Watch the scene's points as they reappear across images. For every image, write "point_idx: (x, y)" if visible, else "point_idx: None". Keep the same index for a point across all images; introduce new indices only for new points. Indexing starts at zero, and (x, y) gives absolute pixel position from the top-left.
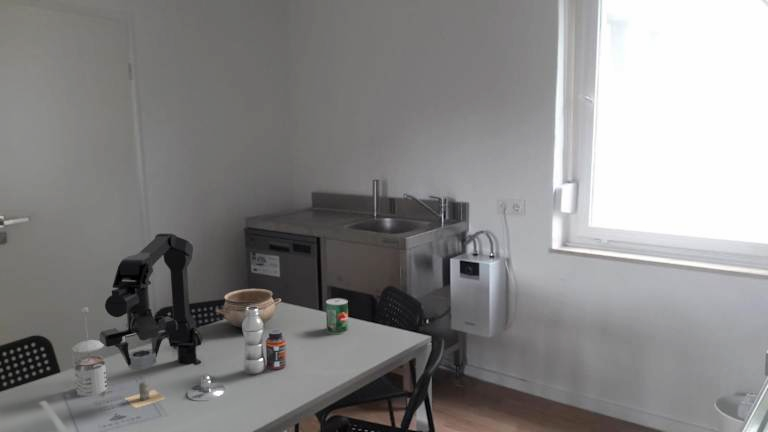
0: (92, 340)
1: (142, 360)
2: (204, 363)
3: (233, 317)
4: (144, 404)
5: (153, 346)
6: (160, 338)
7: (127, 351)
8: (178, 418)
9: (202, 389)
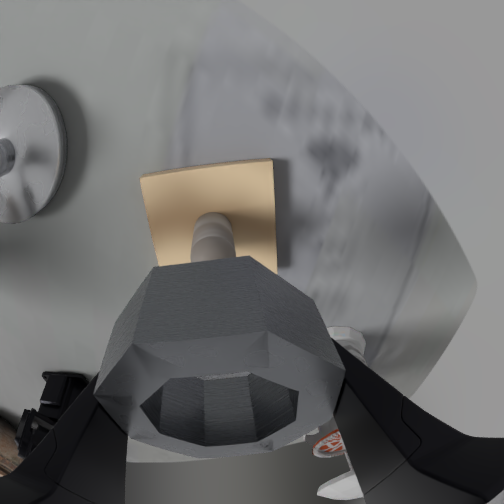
0: (354, 497)
1: (243, 312)
2: (35, 366)
3: (7, 446)
4: (229, 174)
5: (110, 452)
6: (13, 491)
7: (399, 430)
8: (146, 7)
9: (7, 149)
